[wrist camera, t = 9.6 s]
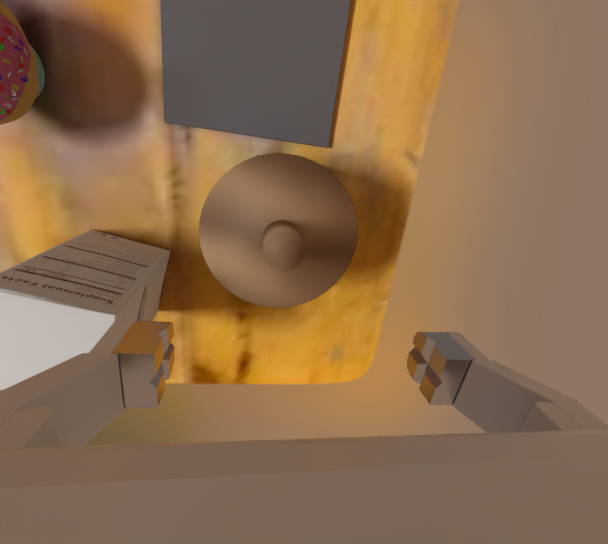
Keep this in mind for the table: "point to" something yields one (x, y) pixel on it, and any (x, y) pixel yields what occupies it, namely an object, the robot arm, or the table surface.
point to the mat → (254, 66)
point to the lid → (278, 230)
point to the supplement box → (74, 300)
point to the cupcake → (17, 69)
